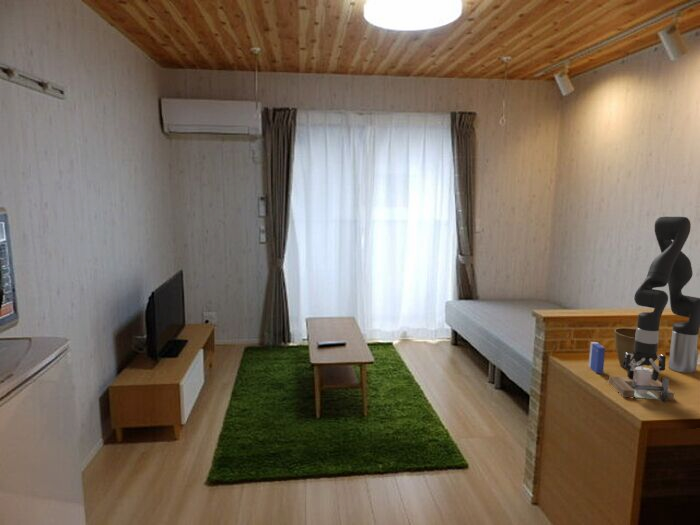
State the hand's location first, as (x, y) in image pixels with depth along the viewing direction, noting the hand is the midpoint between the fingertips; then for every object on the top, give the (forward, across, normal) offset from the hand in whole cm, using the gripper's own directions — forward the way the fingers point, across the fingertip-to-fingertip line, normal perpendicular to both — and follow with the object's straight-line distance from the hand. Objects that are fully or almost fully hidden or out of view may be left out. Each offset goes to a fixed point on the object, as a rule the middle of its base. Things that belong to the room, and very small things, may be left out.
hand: (642, 379), depth 178 cm
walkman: (+6, +8, -22) cm, 25 cm away
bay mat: (+6, 0, 0) cm, 6 cm away
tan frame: (+6, -1, -2) cm, 6 cm away
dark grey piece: (+6, 0, +6) cm, 8 cm away
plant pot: (+6, -8, -28) cm, 30 cm away
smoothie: (+6, 0, 0) cm, 6 cm away
